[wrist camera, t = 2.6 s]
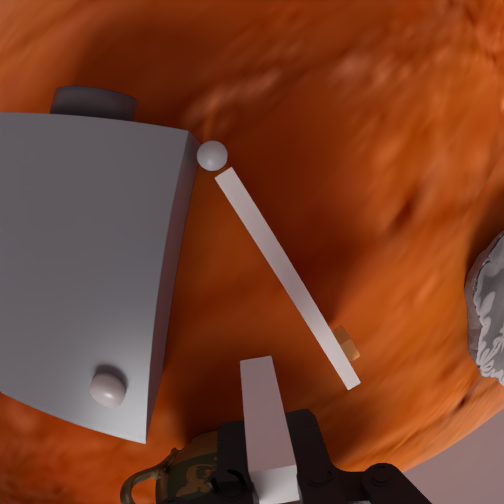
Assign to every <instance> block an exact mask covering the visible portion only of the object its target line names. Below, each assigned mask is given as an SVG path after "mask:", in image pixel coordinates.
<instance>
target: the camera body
mask: <svg viewBox="0 0 504 504" xmlns="http://www.w3.org/2000/svg"><path fill="white" fill-rule="evenodd" d="M137 104H138V101H137V100H136V99H135V98H133V97H130V96H128V95H125V94H122V93H119V92H115V91H110V90H106V89H101V88H94V87H84V86H64V87H59V88H57V89H56V91H55V94H54V98H53V102H52V106H51V110H50V114H42V113H0V391H1V393H3V394H5V395H7V396H9V397H11V398H14V399H16V400H18V401H20V402H22V403H24V404H27V405H29V406H31V407H33V408H36V409H38V410H40V411H43V412H45V413H48V414H50V415H53V416H55V417H58V418H61V419H63V420H66V421H69V422H72V423H74V424H77V425H80V426H83V427H86V428H89V429H93V430H96V431H99V432H102V433H106V434H109V435H113V436H116V437H120V438H124V439H128V440H132V441H136V442H140V443H144V444H146V440H147V436H148V431H149V427H150V423H151V418H152V414H153V410H154V406H155V402H156V398H157V393H158V389H159V385H160V382H161V378H162V373H163V364H164V356H165V348H166V340H167V332H168V325H169V318H170V311H171V304H172V297H173V291H174V285H175V278H176V272H177V266H178V261H179V255H180V249H181V244H182V238H183V233H184V228H185V223H186V218H187V213H188V208H189V203H190V198H191V193H192V189H193V184H194V179H195V175H196V170H197V166H198V160H197V152H198V150H199V148H200V146H201V145H202V144H201V143H200V142H199V141H198V140H197V139H196V138H195V137H194V136H193V135H192V134H191V133H190V131H188V130H182V129H176V128H170V127H164V126H158V125H152V124H145V123H138V122H133V119H134V115H135V112H136V108H137Z"/></svg>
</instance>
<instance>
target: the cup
mask: <svg viewBox="0 0 504 504" xmlns="http://www.w3.org/2000/svg"><path fill="white" fill-rule="evenodd" d="M217 432H218V430H215V431H211V432H208V433H203V434H201V435H199V436H197V437H194V438H193V439H192V441H191V442H190V444H189V445H187V446H186V447H185V448H183V449H182V450H177V449H176V448H173V449H172V450H171V454H170V455H168V456H167V457H166V458H165V459H164V460H163V461H162V462H161V463H159V464H158V465H156V466H154V467H151V468H149V469H146V470H143V471H140V472H137V473H135V474H133V475H132V476H130V477H129V478H128V479H127V480H126V481H125V482H124V484H123V486H122V488H121V492H120V500H121V504H135V502H134V501H133V499H132V496H131V491H132V488H133V486H134V485H135V484H137V483H140V482H142V481H144V480H146V479H148V478H150V477H152V478H153V479H155V480H156V488H155V489H156V491H155V497H156V504H159V503H160V502H161V501H163V500H164V499H166V498H169V497H182V498H184V499H187V500H190V499H194V498H197V497H200V496H203V495H205V494H207V493H208V492H210V491H211V490H210V488H209V486H208V484H207V480H208V477H209V476H210V475H211V473H212V472H213V471H215V470H217ZM164 469H165V470H164ZM279 504H300V500H297V501H291V502H285V503H279Z"/></svg>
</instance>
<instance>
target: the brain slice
mask: <svg viewBox="0 0 504 504" xmlns="http://www.w3.org/2000/svg"><path fill="white" fill-rule="evenodd" d="M464 294H465V299H466V304H467V319H468V349H469V354H470V356H471V357H472V358H473V361H474V362H475V364H476V366H477V368H478V370H479V372H480V374H481V375H482V377H491V378H494V377H495V378H496V379H497V381H498V382H499V383H500V384H502V385H503V386H504V230H503V231H502V232H500V233H499V234H498V235H497V236H496V237H495V238H494V239H493V241H492V242H491V243H490V244H489V245H488V247H487V249H486V250H483V251H482V252H481V253H480V254H479V255H478V256H477V257H476V260H475V262H474V264H473V266H472V268H471V269H470V271H469V273H468V275H467V279H466V283H465V287H464Z"/></svg>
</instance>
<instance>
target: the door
mask: <svg viewBox="0 0 504 504" xmlns="http://www.w3.org/2000/svg"><path fill="white" fill-rule="evenodd" d="M227 157H228V154H227V150H226V148H225V147H224V145H223V144H221V143H220V142H217V141H208V142H205V143H204V144H202V145H201V146H200V148H199V150H198V152H197V160H198V162H199V164H200V165H201V167H203V168H204V169H206V170H210V171H215V170H220V169H222V168H223V167H224V166H225V165H226V162H227ZM215 180H216V181H217V183H218V184H219V186H220V187H221V189H222V191H223V192H224V194H225V195H226V197H227V198H228V200H229V201H230V203H231V205H232V206H233V208H234V209H235V211H236V212H237V214H238V216H239V217H240V219H241V220H242V222H243V223H244V225H245V227H246V228H247V230H248V231H249V233H250V234H251V236H252V238H253V239H254V241H255V242H256V244H257V245H258V247H259V249H260V250H261V252H262V253H263V255H264V256H265V258H266V260H267V261H268V263H269V264H270V266H271V267H272V269H273V271H274V272H275V274H276V275H277V277H278V279H279V280H280V282H281V283H282V285H283V286H284V288H285V290H286V291H287V293H288V294H289V296H290V298H291V299H292V301H293V302H294V304H295V306H296V307H297V309H298V310H299V312H300V313H301V315H302V317H303V318H304V320H305V321H306V323H307V325H308V326H309V328H310V329H311V331H312V333H313V334H314V336H315V337H316V339H317V341H318V342H319V344H320V345H321V347H322V349H323V350H324V352H325V353H326V355H327V357H328V358H329V360H330V361H331V363H332V365H333V366H334V368H335V369H336V371H337V373H338V374H339V376H340V378H341V379H342V381H343V382H344V384H345V386H346V387H347V389H348V390H350V389H351V388H353V387H355V386H356V385H358V384H360V383H361V382H360V380H359V379H358V377H357V375H356V373H355V372H354V370H353V368H352V366H351V365H350V362H352V361H353V360H355V359H356V358H358V357H360V354H359V353H358V351H357V349H356V347H355V345H354V343H353V341H352V339H351V338H350V336H349V335H348V333H347V332H346V331H345V329H344V328H343V326H342V325H341V326H340V327H338V328H337V329H335V330H333V331H331V330H330V328H329V326H328V325H327V323H326V321H325V319H324V318H323V316H322V314H321V313H320V311H319V309H318V307H317V306H316V304H315V302H314V301H313V299H312V297H311V296H310V294H309V292H308V290H307V289H306V287H305V285H304V284H303V282H302V280H301V279H300V277H299V275H298V274H297V272H296V270H295V269H294V267H293V265H292V264H291V262H290V260H289V259H288V257H287V255H286V254H285V252H284V251H283V249H282V247H281V246H280V244H279V242H278V241H277V239H276V237H275V236H274V234H273V232H272V231H271V229H270V228H269V226H268V224H267V223H266V221H265V219H264V218H263V216H262V215H261V213H260V211H259V210H258V208H257V207H256V205H255V203H254V202H253V200H252V199H251V197H250V195H249V194H248V192H247V191H246V189H245V187H244V186H243V184H242V183H241V181H240V179H239V178H238V176H237V175H236V173H235V172H234V170H233V168H232V167H231V168H229V169H227V170H225V171H224V172H222V173H221V174H219V175H218V176H216V177H215Z"/></svg>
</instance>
